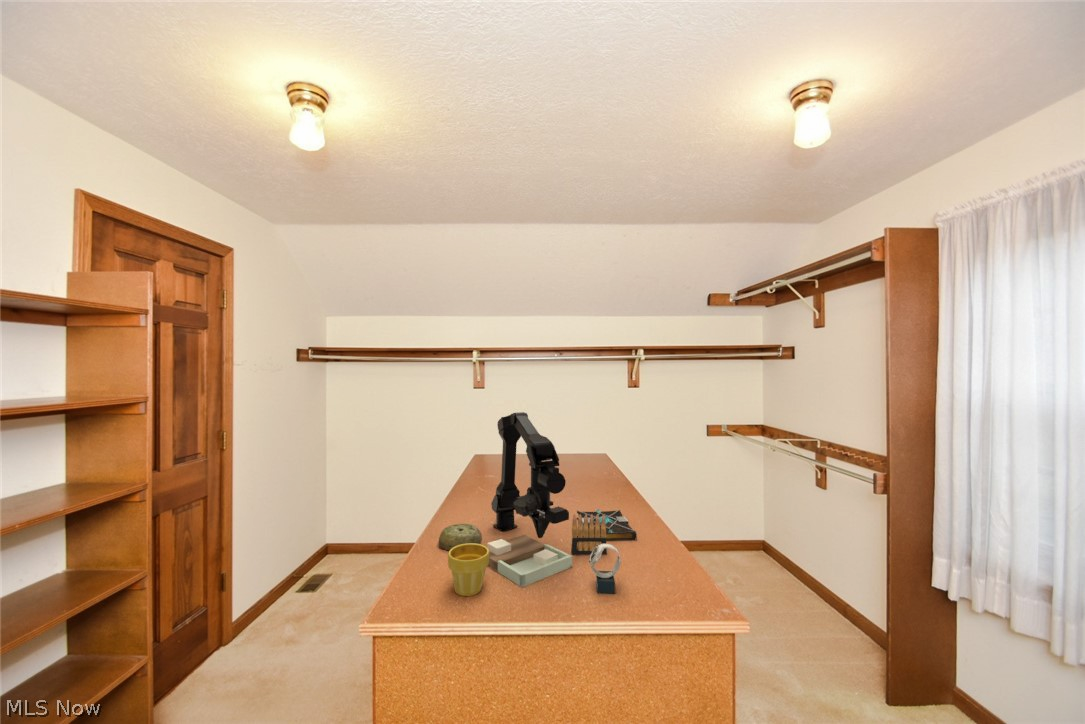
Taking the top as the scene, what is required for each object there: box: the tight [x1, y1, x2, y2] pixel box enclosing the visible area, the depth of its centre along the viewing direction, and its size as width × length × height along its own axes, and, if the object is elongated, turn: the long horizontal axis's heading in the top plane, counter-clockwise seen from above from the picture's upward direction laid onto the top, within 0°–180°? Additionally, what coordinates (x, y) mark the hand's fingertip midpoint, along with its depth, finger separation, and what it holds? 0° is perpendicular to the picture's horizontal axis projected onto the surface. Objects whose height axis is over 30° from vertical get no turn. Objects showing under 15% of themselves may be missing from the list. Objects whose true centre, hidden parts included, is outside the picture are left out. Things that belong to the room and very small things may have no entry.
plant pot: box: [447, 543, 489, 597], centre depth 111 cm, size 10×10×10 cm
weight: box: [438, 523, 483, 551], centre depth 140 cm, size 14×14×5 cm
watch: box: [588, 543, 622, 595], centre depth 112 cm, size 6×8×11 cm
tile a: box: [534, 549, 558, 565], centre depth 126 cm, size 5×5×2 cm
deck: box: [487, 534, 545, 573], centre depth 130 cm, size 11×18×2 cm, turn 130°
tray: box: [497, 543, 573, 588], centre depth 122 cm, size 11×18×3 cm, turn 130°
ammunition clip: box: [570, 513, 608, 556], centre depth 133 cm, size 11×2×12 cm, turn 91°
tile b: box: [486, 538, 511, 555], centre depth 129 cm, size 5×5×2 cm
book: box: [576, 508, 638, 541], centre depth 153 cm, size 22×17×5 cm
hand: (540, 537), depth 127 cm, fingers closed
